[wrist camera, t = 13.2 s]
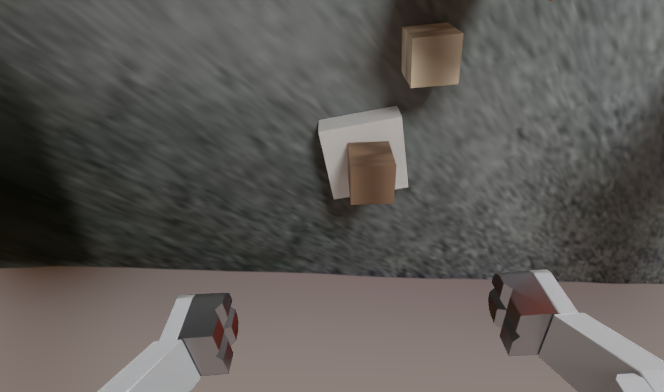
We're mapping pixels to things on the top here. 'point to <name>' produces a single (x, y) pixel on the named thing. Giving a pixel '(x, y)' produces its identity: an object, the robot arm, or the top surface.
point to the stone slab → (361, 129)
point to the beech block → (431, 54)
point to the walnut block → (371, 173)
